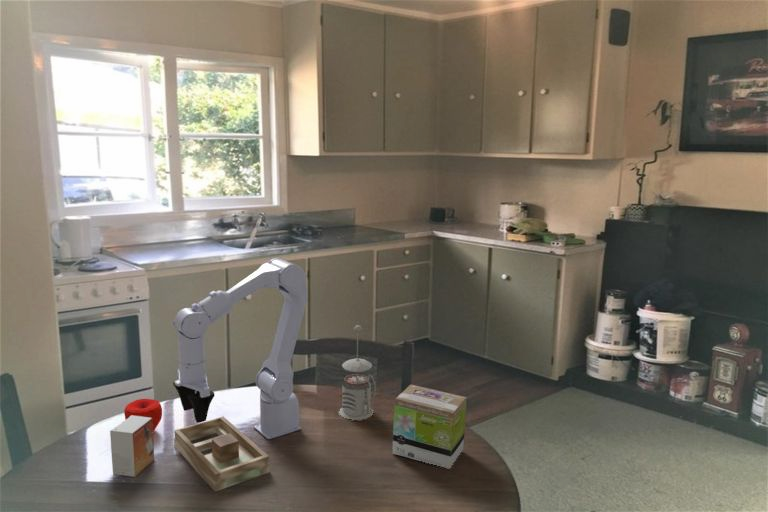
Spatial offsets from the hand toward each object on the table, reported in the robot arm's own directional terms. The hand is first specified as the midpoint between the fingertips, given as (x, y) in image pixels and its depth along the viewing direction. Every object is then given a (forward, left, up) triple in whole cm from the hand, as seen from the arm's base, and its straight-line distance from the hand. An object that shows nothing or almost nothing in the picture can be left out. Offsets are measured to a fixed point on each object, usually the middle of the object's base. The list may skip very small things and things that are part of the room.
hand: (194, 415), depth 142 cm
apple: (+7, -17, -10) cm, 21 cm away
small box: (+14, -2, -10) cm, 17 cm away
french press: (-43, +6, -10) cm, 45 cm away
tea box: (-44, +33, -10) cm, 56 cm away
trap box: (-3, +6, -9) cm, 12 cm away
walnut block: (-3, +9, -7) cm, 12 cm away
